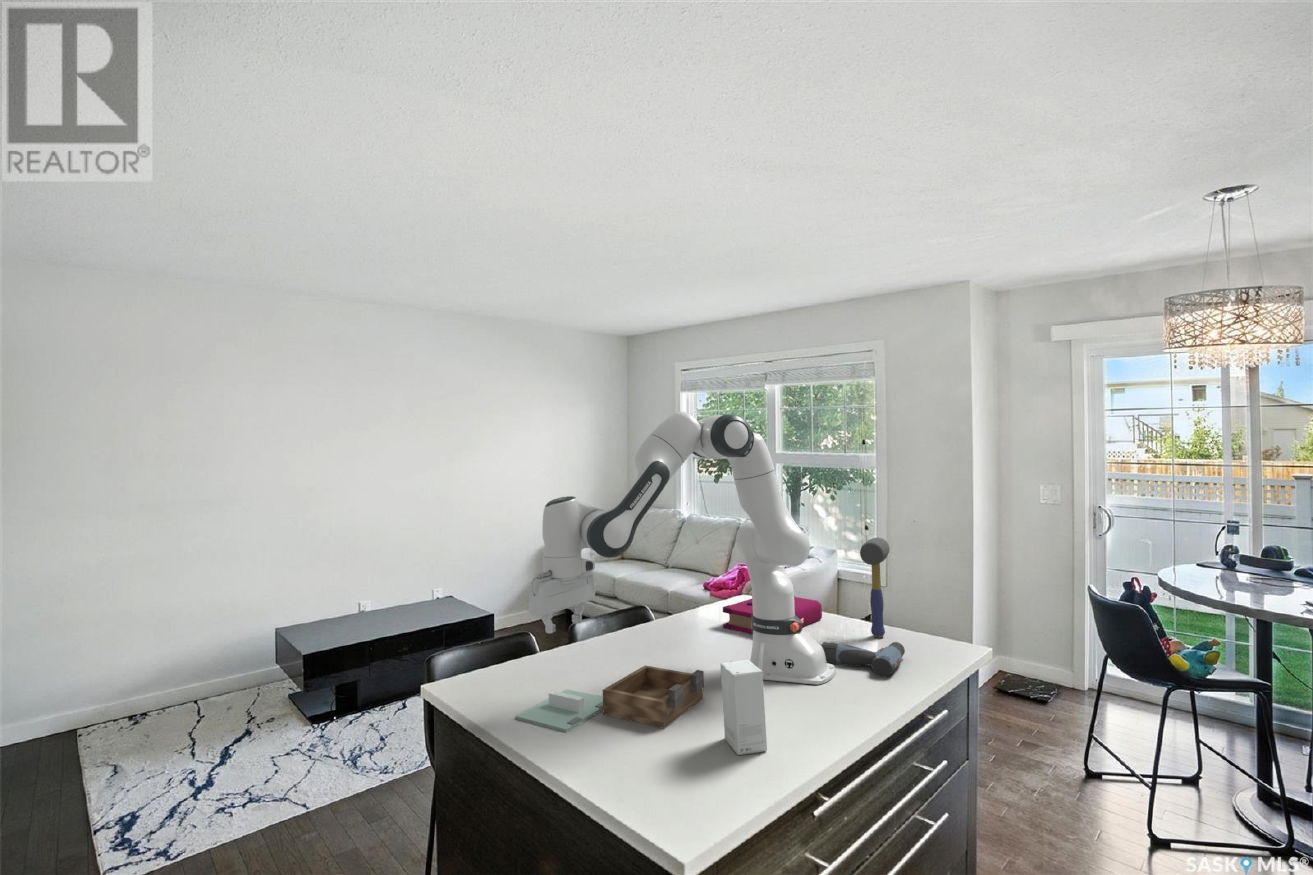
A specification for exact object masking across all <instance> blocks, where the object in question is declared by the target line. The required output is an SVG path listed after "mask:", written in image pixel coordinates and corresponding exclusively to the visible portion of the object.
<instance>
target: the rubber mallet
mask: <svg viewBox="0 0 1313 875" xmlns="http://www.w3.org/2000/svg"><path fill="white" fill-rule="evenodd" d="M859 551H860V552H859V556H860V558H861V560H862V561H863V562H864V563H865V564H867V565H869V566H871V591H870V600H869V601H870V611H871V628H870V633H871V634H872V636H873V637H874V638H880V639H881V638H883V637H884V635H885V633H886V630H885V625H884V606H885V604H884V595H883V591H882V581H881V563H883V562H884V561H885V560H886V559H887V557H888V556H889V553H890V545H889V543H888V541H886V539H884V538H882V537H873V538H870V539H868V540H866V541H865V542H864V544H862V546H861V548H860V550H859Z"/></svg>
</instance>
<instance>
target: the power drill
mask: <svg viewBox="0 0 1313 875" xmlns="http://www.w3.org/2000/svg"><path fill="white" fill-rule="evenodd" d="M820 645H821V646H822V648H823V650H824V653H825V657H826V662H827V663H833V664H838V665H845V666H852V667H853V666H854V667H864V666H871V670H872V672H873V673H874V674H875V675H876V676H878V677H881V678H888V677H890V676H891V674H892V673H893V672H894V671H895V669H896V668H897V667H898V666H899V664H900V663H901V662H902V658H903V657H904V655H905V651H906V650H905V647H904V645H903V644H902V643H900V642H898V641H894V642H891V643H890V644H889V645H887V646H885V647H881V648H880V649H878V650H877V651H872V650H869V649H864V648H861V647H859V646H853V645H850V644H845V643H844V644H843V643H837V642H825V641H824V642H822V644H820Z"/></svg>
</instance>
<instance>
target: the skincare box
mask: <svg viewBox="0 0 1313 875" xmlns="http://www.w3.org/2000/svg"><path fill="white" fill-rule="evenodd" d="M720 678H721V679H720V681H721V693H722V695H721V697H722V711H723V714H722V715H723V727H724V739H725V741H726V742H727V743H728V745H729V746H730V747H731V748H732V750H733V751H734V753H736V755H737V756H742V755H749V754H757V753H763V752H766V751H768V739H767V728H766V727H767V726H766V709H765V695H764V694H765V692H764V691H765V690H764V679H763V671H761V670H760V669H759V668H758V667H756V666H755V665H754V664H753V663H752V662H750V659H743V660H736V661H735V660H734V661H730V662H721V663H720Z"/></svg>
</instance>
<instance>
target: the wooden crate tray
mask: <svg viewBox="0 0 1313 875" xmlns="http://www.w3.org/2000/svg"><path fill="white" fill-rule="evenodd" d="M704 673H705V672H704V670H699V669H697V670H695V671H694V672H692V673H689V672H684V671H679V670H672V669H668V668H661V667H656V666H651V665H650V666H649V665H646V664H645V665H644V666H642V667H640V668H638V669H636V670H633V671H632V672H631V673H629V674H627V675H626V676H624V677H622V678H620V679H619V680H617V681H615V682H613V683H612V684H610V685H608V686H607V687H605V688H603V689H602V697H603V710H602V711H603V713H602V714H603V715H605V714H607V715H606V716H609V715H611V716H610V717H613V716H614V718H618V719H622V720H626V719H628V720H627V721H630V720H631V721H630V722H635V723H639V724H643V723H644V724H643V725H647V724H648V726H653V727H657V728H661V729H665V728H667V727H668V726H669V725H670V723H671V724H672V723H673V722H674V721H676V720H677V719H679V718H680V717H681V716H682V715H685V713H687V711H688V710H690V709H691V708H693V707H695V705H697V704H698V703H700V701H702V700H703V698H704V697H703V689H704V688H705V679H704V678H705V676H704V675H705V674H704Z"/></svg>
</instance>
